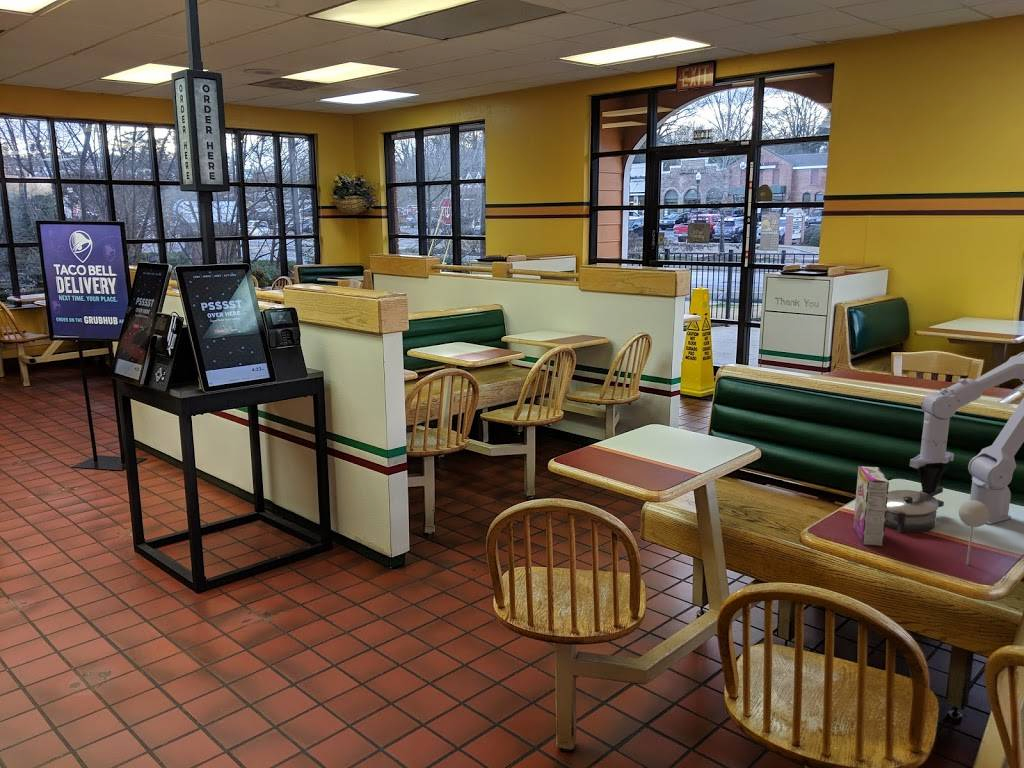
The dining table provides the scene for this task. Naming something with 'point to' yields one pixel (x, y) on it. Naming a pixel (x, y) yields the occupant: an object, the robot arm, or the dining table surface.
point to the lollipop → (973, 517)
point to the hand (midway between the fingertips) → (928, 490)
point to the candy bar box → (871, 505)
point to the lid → (913, 502)
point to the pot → (912, 521)
